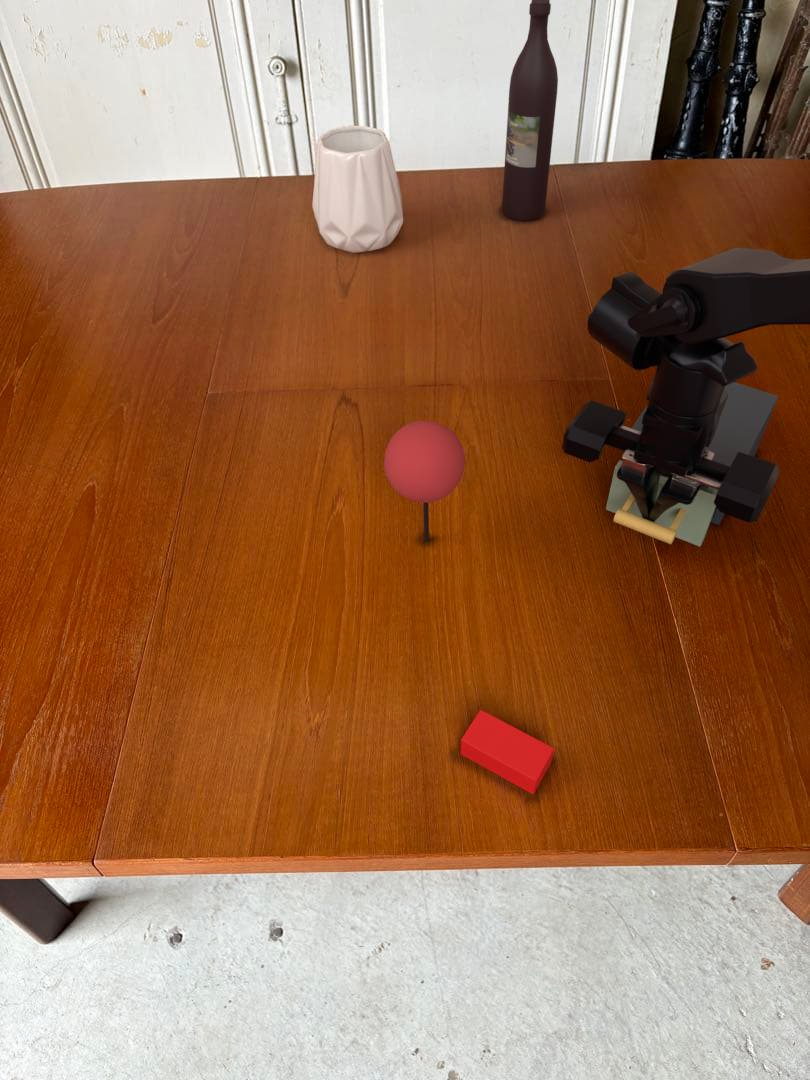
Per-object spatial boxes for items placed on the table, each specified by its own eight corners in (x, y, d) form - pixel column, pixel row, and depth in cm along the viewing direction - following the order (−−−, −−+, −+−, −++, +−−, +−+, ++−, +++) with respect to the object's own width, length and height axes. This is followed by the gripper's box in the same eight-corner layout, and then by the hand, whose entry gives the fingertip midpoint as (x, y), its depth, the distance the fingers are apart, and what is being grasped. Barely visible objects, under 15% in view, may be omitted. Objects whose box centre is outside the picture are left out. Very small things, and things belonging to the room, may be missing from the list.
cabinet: (718, 525, 87) (739, 470, 81) (616, 486, 91) (629, 431, 85) (756, 451, 94) (778, 395, 88) (660, 418, 99) (675, 363, 92)
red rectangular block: (551, 762, 69) (554, 748, 67) (533, 795, 67) (536, 781, 65) (479, 724, 72) (480, 709, 70) (460, 754, 70) (460, 739, 68)
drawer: (684, 577, 81) (699, 535, 76) (587, 537, 85) (596, 494, 80) (737, 474, 90) (754, 431, 86) (648, 442, 94) (659, 399, 90)
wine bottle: (496, 205, 136) (507, -4, 114) (536, 199, 137) (555, -10, 115) (509, 224, 131) (524, 11, 109) (551, 218, 132) (574, 5, 110)
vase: (298, 245, 129) (285, 147, 118) (348, 208, 137) (340, 112, 125) (372, 267, 124) (365, 167, 112) (420, 227, 132) (418, 130, 120)
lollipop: (472, 525, 88) (477, 417, 77) (444, 575, 83) (445, 468, 72) (408, 505, 90) (404, 397, 79) (377, 553, 86) (368, 446, 74)
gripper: (822, 380, 71) (767, 505, 82) (619, 319, 78) (596, 442, 89) (785, 455, 64) (732, 578, 76) (569, 381, 72) (551, 504, 83)
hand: (649, 520), depth 81 cm, fingers closed, pressing on drawer
